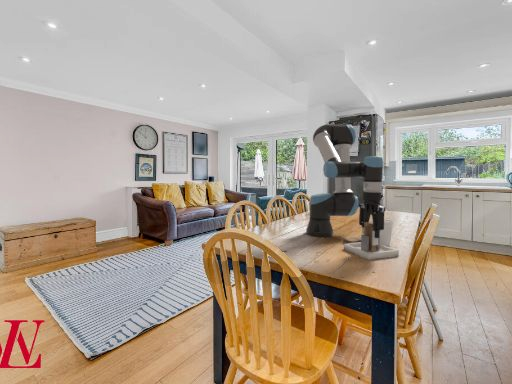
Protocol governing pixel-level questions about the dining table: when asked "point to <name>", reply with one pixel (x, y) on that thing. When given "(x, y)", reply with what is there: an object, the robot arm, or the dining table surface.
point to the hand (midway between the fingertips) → (370, 243)
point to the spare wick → (351, 240)
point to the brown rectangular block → (369, 234)
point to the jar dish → (363, 250)
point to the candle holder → (386, 232)
